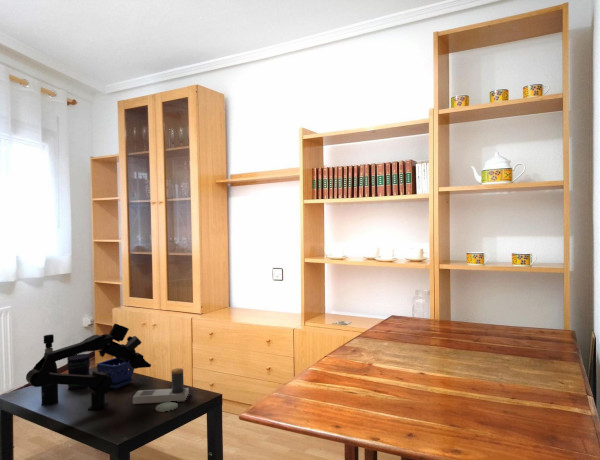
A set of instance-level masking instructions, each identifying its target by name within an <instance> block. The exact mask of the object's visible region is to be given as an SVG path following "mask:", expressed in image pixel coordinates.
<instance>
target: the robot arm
mask: <svg viewBox="0 0 600 460" xmlns="http://www.w3.org/2000/svg"><path fill="white" fill-rule="evenodd" d="M129 330H130V328H128V327H126V326H124V325H120V324H117V323H114V324H113V325H112V328H111V330H110V331H109V333H105V334H93V335H91V336H89V337H87V338H85V339H84V340H82V341H80V342H77V343H74V344H72V345H68V346H65V347H61V348H59V349H55V350H53V351H52V352H47V353H46V354H45V355H44V354H43V356H42V358H41V359H40V360H39V361H37V363H36V364H35V365H34V367H33V368H31V370H29V371H28V372H27V373H26V376H25V380H26V382H28V384H30V385H31V386H32V387H35V388H39V387H40V388H41V386H48V385H51V384H58V385H65V386H66V385H67V386H68V385H86V386H88V388H87V390H88V392H89V393H90V406H88V408H87V410H88V411H92V410H93V411H95V410H96V411H97V410H104V409H105V408H107V406H108V405H109V402H107V400H106V399H107V397H106V394H108V392H109V390H110V388H109V387H110V386H111V384H112V379H111V377H110V376H108V375H107V374H106V373H107V372H106V373H104V372H102V371H100V372H98V371H95V370H92V374H91V373H90V375H74V374H68V373H51V372H50V371H51V369H52V367H53V365H54V363H55V362H56V363H57V362H58V361H61V360H65V359H67V358H68V357H71V356H74V355H78V354H84V353H86V352H87V353H88V352H96V351H98V353H99V356H100V357H101V358H103V357H104V356H105V355H109V356H112V357H113V358H117V359H121V360H123V361H125V362H126V363H128V361H130V362H129V365H130V366H131V367H132V368H134V370H136V369H143V368H151V366H152V364H151V363H149V362H148V361H146V359H145V358H144V354H142V353H139V352H137V351H136V348H137V347H138V346H140V345H141V344H142V341H141V340H140V338H138V337H137V336H136V335H133V336H130V335H129V336H128V337H126V336H127V333H128V332H129ZM125 338H126V343H125V344H123V343H122V344H120V342H123V341H124V340H125Z"/></svg>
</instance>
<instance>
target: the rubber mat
mask: <svg viewBox="0 0 600 460" xmlns="http://www.w3.org/2000/svg"><path fill="white" fill-rule="evenodd" d="M178 407H179V404H178V403H176V402H161V403H160V404H159V403H158V404H157V405H156V406H155V411H156V412H160V413H166V412H165V411H168V412H171V411H170V410H172V411H174V409H175V410H177V408H178Z"/></svg>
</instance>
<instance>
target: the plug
mask: <svg viewBox="0 0 600 460" xmlns="http://www.w3.org/2000/svg"><path fill="white" fill-rule="evenodd" d="M184 384H185V383H184V369H183V368H173V369H171V389H172V394H184V388H185V387H184V386H185V385H184Z"/></svg>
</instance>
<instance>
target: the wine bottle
mask: <svg viewBox="0 0 600 460" xmlns="http://www.w3.org/2000/svg"><path fill="white" fill-rule="evenodd" d="M54 337H55V336H54V334H44V335H43V344H45V346H44V347H45V349H44V353H43V356H44V355H45V354H46V353H47V352H52V351H54V348H53V343H54V342H55V341H54ZM50 372H51V373H58V366H57V361H56V362H55V363H54V365H53V367H52V369H51V371H50ZM58 374H59V373H58ZM40 388H41V389H40V391H41V394H40V395H41V406H43V405H45V406H44V407H48V406H47V405H49V406H53V404H54V405H56V404H58V403H59V384H51V385H48V386H41V387H40Z"/></svg>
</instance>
